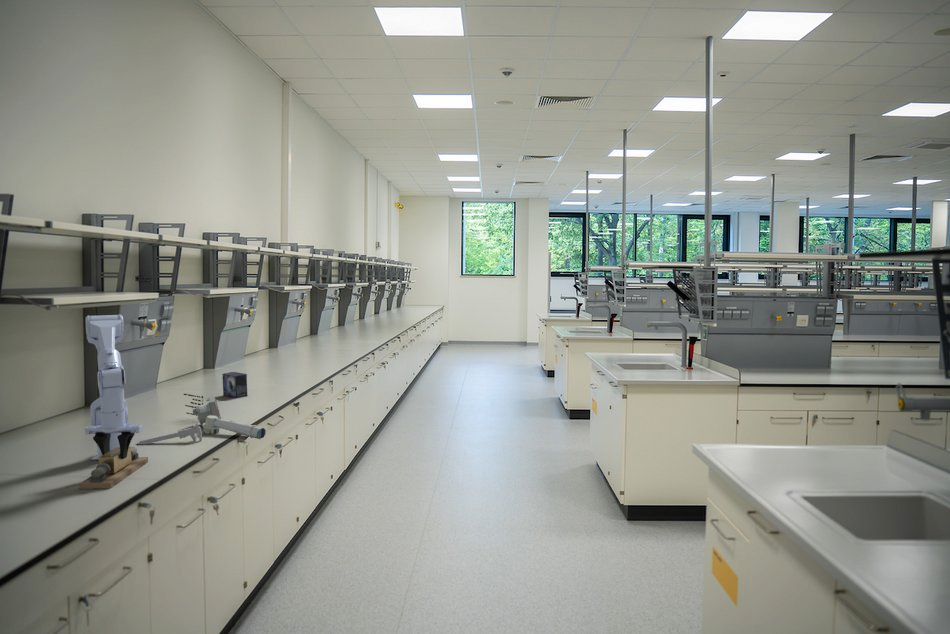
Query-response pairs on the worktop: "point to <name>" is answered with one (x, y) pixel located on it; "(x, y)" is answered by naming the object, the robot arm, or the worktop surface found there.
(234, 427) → the blue-tipped grey rod
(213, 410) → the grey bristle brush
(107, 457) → the coupling block
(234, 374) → the small box
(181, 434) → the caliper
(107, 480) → the shaft cradle
